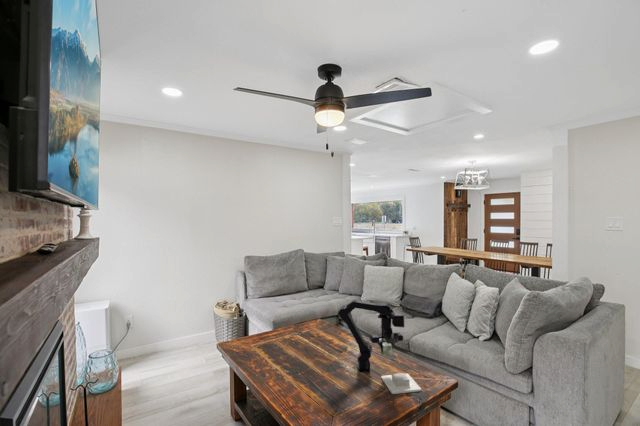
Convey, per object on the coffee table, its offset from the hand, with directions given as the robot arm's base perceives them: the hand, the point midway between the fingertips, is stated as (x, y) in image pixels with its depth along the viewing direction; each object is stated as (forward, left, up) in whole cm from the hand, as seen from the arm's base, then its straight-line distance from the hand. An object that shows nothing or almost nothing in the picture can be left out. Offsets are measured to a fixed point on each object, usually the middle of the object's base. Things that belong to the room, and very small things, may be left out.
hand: (386, 352), depth 184 cm
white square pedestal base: (+3, -13, -12) cm, 18 cm away
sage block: (0, 0, -1) cm, 1 cm away
